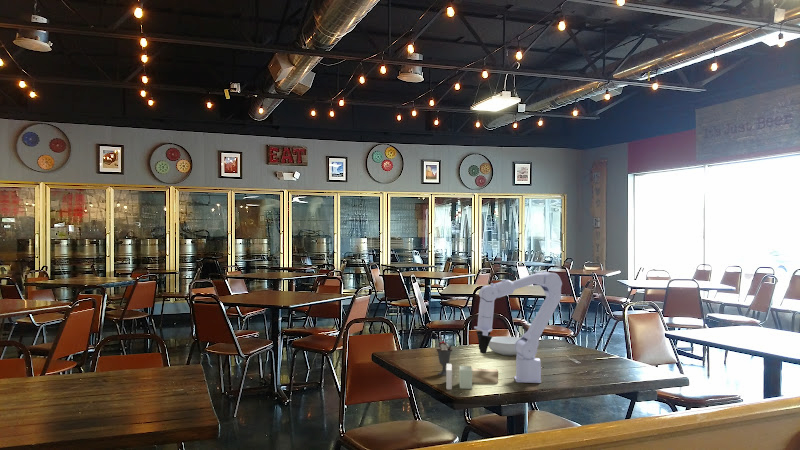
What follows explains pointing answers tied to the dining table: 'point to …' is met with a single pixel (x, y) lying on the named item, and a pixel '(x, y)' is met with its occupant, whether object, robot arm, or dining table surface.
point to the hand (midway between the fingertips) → (482, 351)
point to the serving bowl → (503, 345)
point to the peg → (485, 375)
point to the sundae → (444, 355)
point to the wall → (449, 376)
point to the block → (465, 377)
